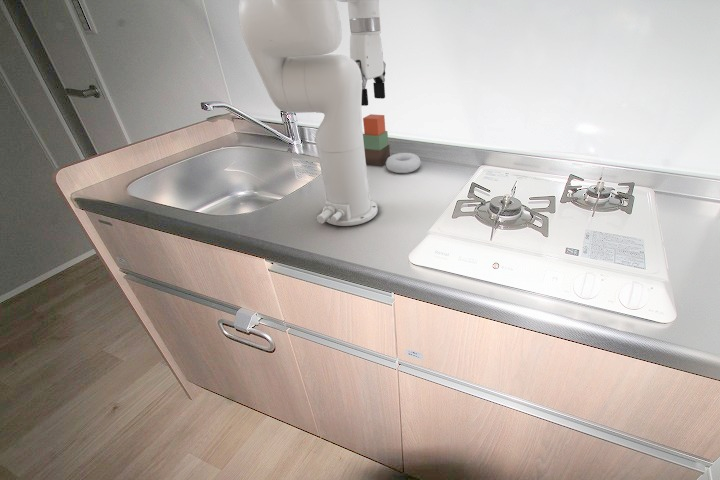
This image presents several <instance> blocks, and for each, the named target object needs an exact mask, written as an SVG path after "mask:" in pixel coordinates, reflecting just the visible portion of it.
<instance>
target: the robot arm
mask: <svg viewBox="0 0 720 480" xmlns="http://www.w3.org/2000/svg"><path fill="white" fill-rule="evenodd" d="M337 1H338V2H340V3H347V11H348V17H349V18H348V19H349V29H350V36H349V56H346V55H342V54H331V53H333V52H335V51H336V50H338V49H339V47H340V45H341V43H342V37H343V28H342V22H341V18H340V12H339V7H338V4H337ZM237 15H238V23H239V24H238V25H239V28H240V31H241V35H242V39H243V41H244V45H245V47H246V48H247V50H248V51H247V52H248V53H249V55H250V57H251V60H252V62H253V63H254V66H255V68H256V70H257V72H258V74H259V77H260V79H261V81H262V83H263V85H264V87H265V89H266V92H267V94H268V96H269V98H270V100H271V101H272V103H273V104H274V106H275V107H276V108H277V109H278V110H280V111H281V112H284V113H293V114H294V113H295V114H298V113H299V114H300V113H301V114H303V113H306V114H307V113H317V114H323V116H324V117H323V119H322V120H321V122H320V124H319V125H318V128H317V130H316V134H315V144H316V148H317V154H318V155H317V156H318V159H319V165H320V172H321V178H322V182H323V188H324V193H325V198H326V201H325V202H324V205H325V206H324V207H323V208H322V211H321V212H320V214H318V215H317V216H316V220H317V222H318V223H319V224H324V223H328V224H330V225H333V226H338V227H350V226H351V227H353V226H357V225H362V224H364V223H367V222H369V221H370V220H372V219H374V218H375V217H376V215H377V214H378V212H379V211H378V204H377V203H376V202H375V201H374V200H372V199H371V198H370V189H369V180H368V169H367V164H366V159H365V150H364V141H363V134H364V132H363V131H364V130H363V118H362V107H363V106H364V107H367V106H369V96H368V88H366V87H367V82H368V80H373V81H374V82H373V83H372V84H373V93H374V94H373V96H374V99H382V100H383V99H385V98H386V92H385V91H386V88H385V82H386V78H385V76H386V62H385V60H384V54H383V46H382V45H383V44H382V38H381V33H382V31H381V16H380V15H381V14H380V0H239V3H238V13H237Z"/></svg>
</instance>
